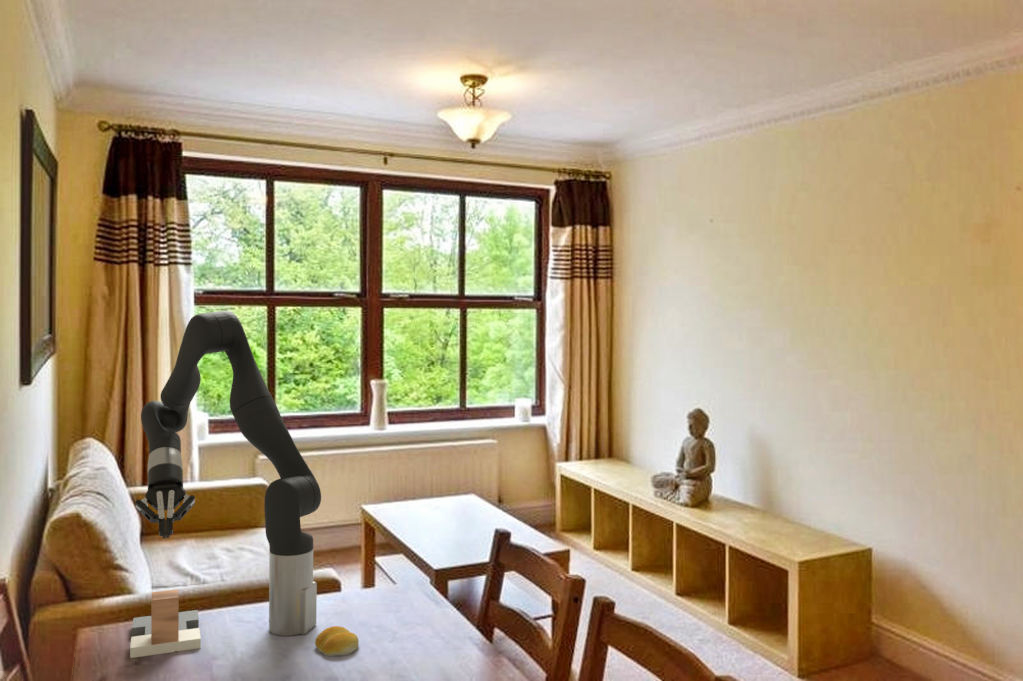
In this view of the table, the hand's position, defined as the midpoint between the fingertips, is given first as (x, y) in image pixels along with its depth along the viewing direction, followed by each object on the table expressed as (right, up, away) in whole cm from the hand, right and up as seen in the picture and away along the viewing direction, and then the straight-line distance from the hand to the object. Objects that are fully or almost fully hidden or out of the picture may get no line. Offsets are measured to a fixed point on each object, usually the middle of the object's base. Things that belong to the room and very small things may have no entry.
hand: (166, 536), depth 176 cm
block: (+5, -18, -13) cm, 23 cm away
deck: (+2, -19, -5) cm, 20 cm away
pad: (+5, -20, -13) cm, 24 cm away
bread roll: (+40, -21, -12) cm, 47 cm away
